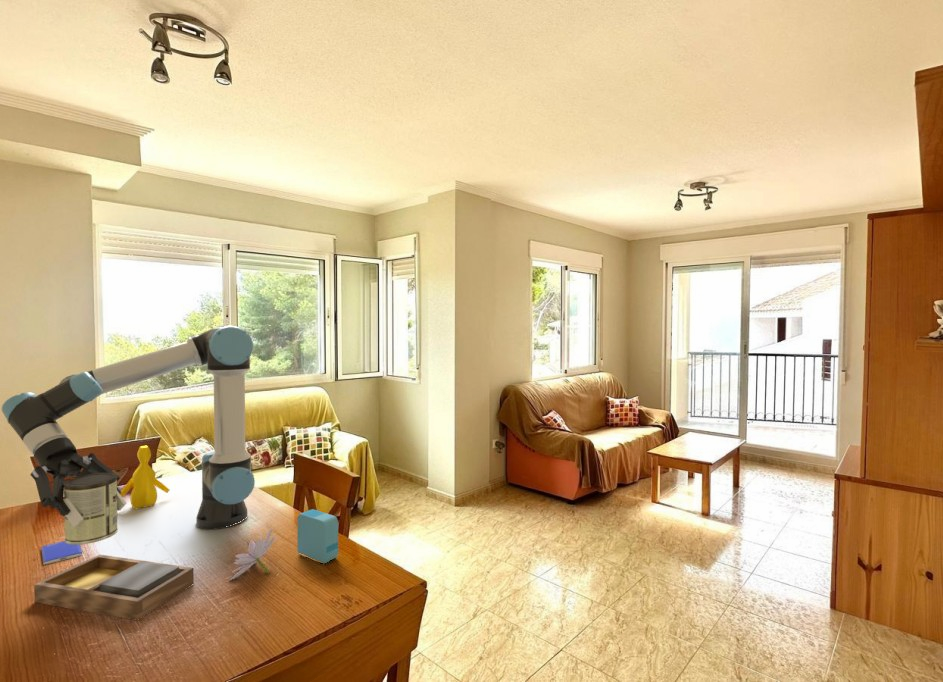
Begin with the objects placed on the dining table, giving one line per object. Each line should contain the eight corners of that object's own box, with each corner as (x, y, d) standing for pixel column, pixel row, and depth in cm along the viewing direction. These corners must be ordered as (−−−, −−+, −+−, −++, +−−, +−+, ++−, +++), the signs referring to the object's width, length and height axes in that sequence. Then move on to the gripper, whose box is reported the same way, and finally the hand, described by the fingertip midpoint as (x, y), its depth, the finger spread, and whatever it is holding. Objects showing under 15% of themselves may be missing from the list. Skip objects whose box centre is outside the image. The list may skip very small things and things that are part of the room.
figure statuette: (168, 497, 183) (167, 439, 182) (174, 502, 177) (173, 442, 177) (110, 510, 170) (109, 447, 169) (115, 516, 164) (114, 451, 164)
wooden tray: (34, 602, 112) (34, 580, 112) (100, 569, 128) (100, 550, 127) (137, 620, 105) (137, 597, 105) (194, 583, 121) (194, 563, 121)
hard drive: (41, 546, 139) (43, 561, 130) (77, 537, 145) (82, 551, 136) (41, 551, 139) (43, 567, 130) (78, 542, 145) (82, 557, 136)
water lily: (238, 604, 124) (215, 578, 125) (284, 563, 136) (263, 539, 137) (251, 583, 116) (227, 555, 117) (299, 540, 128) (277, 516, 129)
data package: (338, 559, 134) (338, 516, 133) (325, 566, 130) (325, 522, 130) (310, 548, 140) (310, 507, 140) (297, 554, 137) (296, 512, 136)
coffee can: (62, 535, 118) (61, 478, 117) (114, 524, 125) (113, 469, 125) (66, 549, 110) (65, 488, 110) (121, 536, 118) (120, 478, 117)
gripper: (88, 445, 132) (135, 508, 128) (-12, 468, 110) (42, 544, 106) (103, 427, 130) (151, 490, 127) (5, 446, 108) (60, 523, 105)
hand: (101, 514), depth 117 cm, fingers closed on coffee can, 10 cm apart
